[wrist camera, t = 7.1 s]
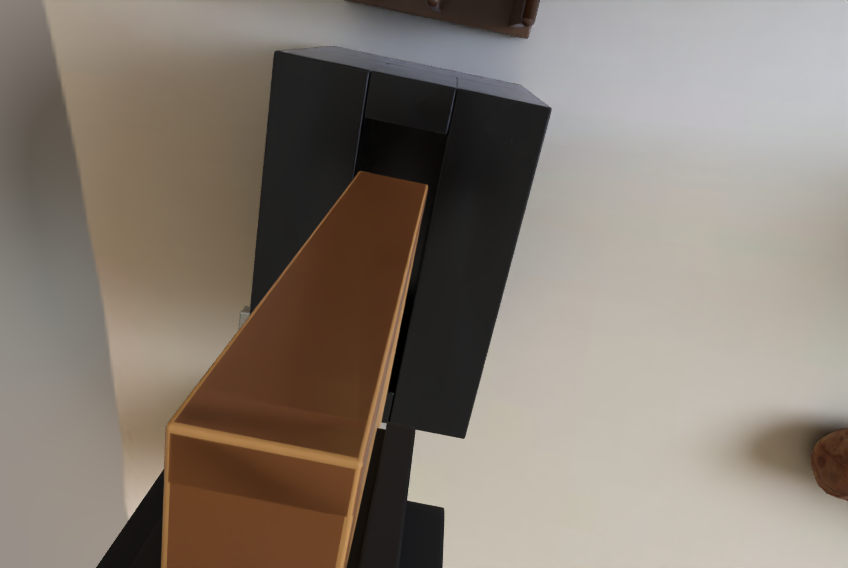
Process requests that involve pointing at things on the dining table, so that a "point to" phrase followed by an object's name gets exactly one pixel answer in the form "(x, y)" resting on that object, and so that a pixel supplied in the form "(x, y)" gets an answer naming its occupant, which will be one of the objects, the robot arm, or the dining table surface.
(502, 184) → the toaster
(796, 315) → the dining table surface
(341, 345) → the toast
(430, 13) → the rack
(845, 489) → the reddish-brown tapered rod
